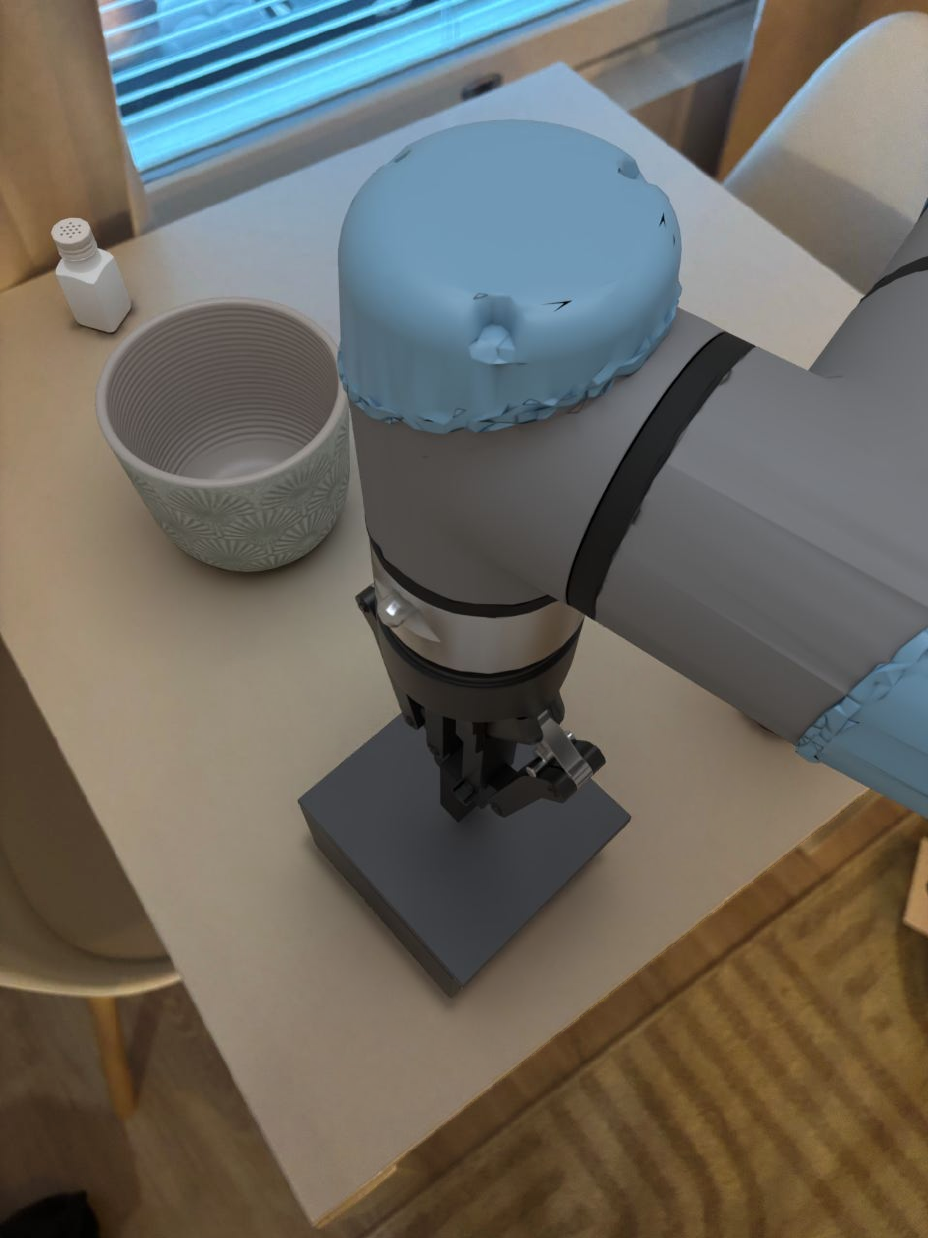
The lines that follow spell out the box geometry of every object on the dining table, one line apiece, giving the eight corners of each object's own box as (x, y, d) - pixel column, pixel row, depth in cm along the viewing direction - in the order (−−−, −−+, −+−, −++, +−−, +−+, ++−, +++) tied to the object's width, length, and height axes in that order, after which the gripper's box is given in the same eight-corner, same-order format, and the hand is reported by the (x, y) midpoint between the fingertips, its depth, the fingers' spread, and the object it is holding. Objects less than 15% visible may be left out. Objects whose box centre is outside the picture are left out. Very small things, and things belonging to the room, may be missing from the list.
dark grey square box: (595, 853, 65) (617, 816, 57) (450, 999, 60) (452, 980, 52) (459, 718, 69) (463, 666, 61) (314, 843, 64) (298, 804, 57)
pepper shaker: (75, 325, 86) (36, 239, 78) (96, 296, 88) (61, 209, 80) (114, 336, 86) (80, 251, 77) (135, 306, 88) (103, 220, 79)
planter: (379, 583, 74) (367, 463, 61) (160, 621, 72) (98, 505, 59) (345, 419, 82) (328, 280, 69) (147, 448, 80) (89, 311, 66)
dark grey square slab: (630, 821, 56) (632, 816, 55) (463, 988, 51) (463, 986, 50) (463, 666, 61) (463, 660, 61) (298, 804, 57) (296, 800, 56)
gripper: (279, 530, 34) (341, 760, 54) (539, 787, 29) (499, 931, 50) (434, 421, 36) (437, 680, 57) (694, 641, 32) (595, 836, 53)
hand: (466, 797), depth 53 cm, fingers closed
